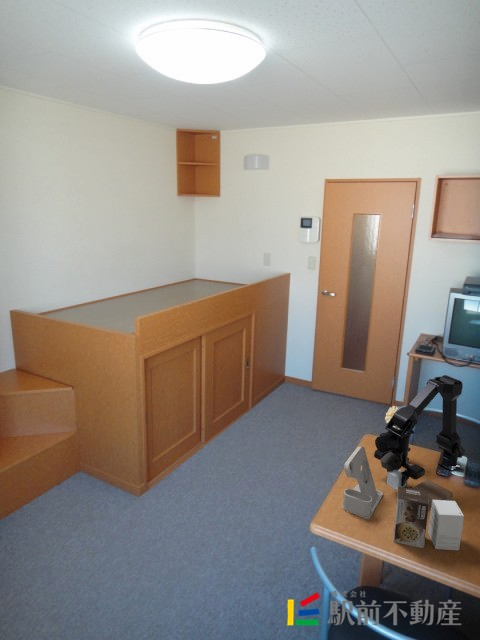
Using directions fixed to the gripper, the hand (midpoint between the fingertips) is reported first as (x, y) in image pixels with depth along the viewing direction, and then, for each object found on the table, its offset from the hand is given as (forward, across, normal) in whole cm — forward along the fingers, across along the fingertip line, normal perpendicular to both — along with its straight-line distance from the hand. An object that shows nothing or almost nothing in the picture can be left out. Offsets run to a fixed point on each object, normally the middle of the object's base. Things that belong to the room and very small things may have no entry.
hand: (396, 482), depth 170 cm
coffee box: (+1, +20, -21) cm, 29 cm away
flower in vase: (+1, -12, +13) cm, 18 cm away
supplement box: (+1, +27, -13) cm, 30 cm away
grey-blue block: (+1, 0, 0) cm, 1 cm away
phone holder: (+1, -1, -18) cm, 19 cm away
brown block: (+1, +12, +4) cm, 13 cm away
